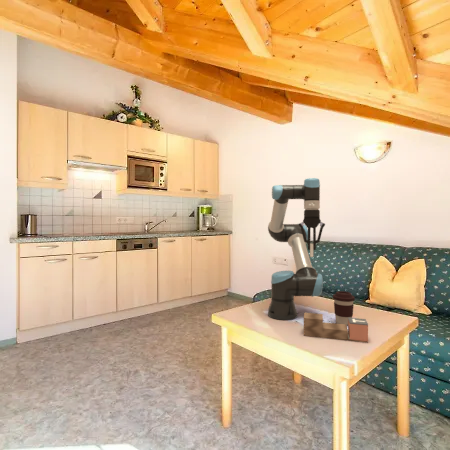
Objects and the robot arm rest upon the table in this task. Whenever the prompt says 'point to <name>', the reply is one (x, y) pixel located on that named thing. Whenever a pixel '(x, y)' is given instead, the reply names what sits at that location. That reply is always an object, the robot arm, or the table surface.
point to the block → (358, 329)
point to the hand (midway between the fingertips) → (311, 256)
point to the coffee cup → (343, 306)
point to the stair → (325, 328)
